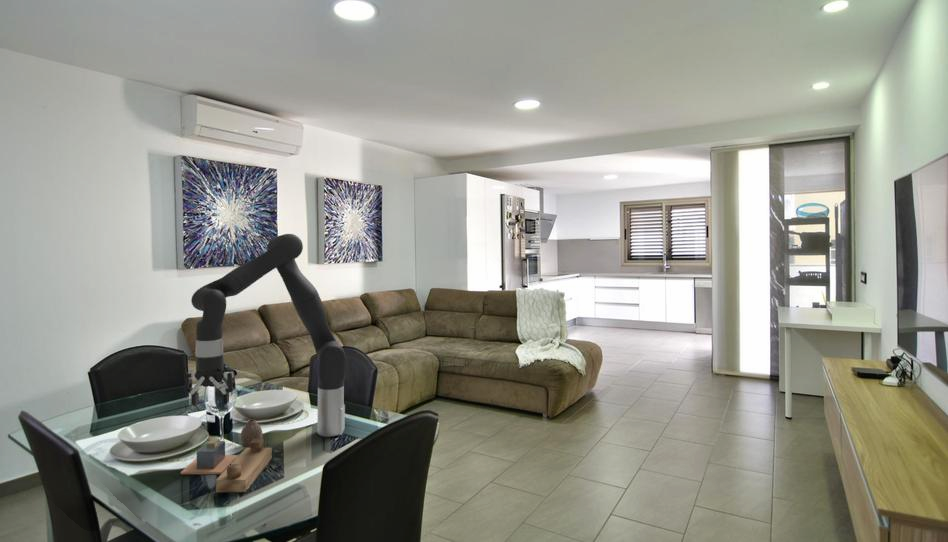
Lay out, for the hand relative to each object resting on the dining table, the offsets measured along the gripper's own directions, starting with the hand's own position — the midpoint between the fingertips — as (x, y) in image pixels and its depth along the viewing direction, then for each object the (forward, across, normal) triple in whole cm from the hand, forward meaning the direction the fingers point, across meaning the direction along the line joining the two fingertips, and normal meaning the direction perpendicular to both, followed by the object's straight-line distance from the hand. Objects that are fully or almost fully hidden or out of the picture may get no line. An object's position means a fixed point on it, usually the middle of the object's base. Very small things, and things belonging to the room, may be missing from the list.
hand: (210, 405), depth 155 cm
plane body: (+19, -13, +6) cm, 24 cm away
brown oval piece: (+19, -7, -15) cm, 25 cm away
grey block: (+18, 0, 0) cm, 18 cm away
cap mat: (+19, 0, 0) cm, 19 cm away
